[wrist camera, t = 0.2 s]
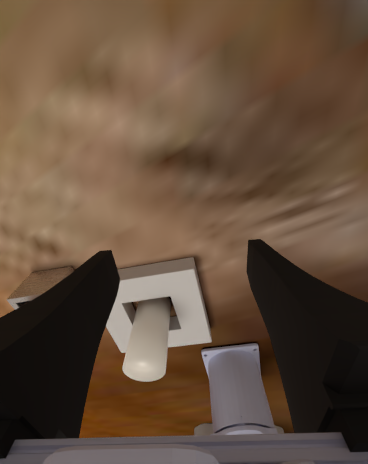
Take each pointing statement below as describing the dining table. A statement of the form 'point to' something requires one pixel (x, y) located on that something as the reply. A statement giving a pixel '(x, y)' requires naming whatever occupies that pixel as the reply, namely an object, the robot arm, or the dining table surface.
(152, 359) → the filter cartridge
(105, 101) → the dining table surface
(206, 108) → the dining table surface
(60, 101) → the dining table surface
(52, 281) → the button housing
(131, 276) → the white square frame
